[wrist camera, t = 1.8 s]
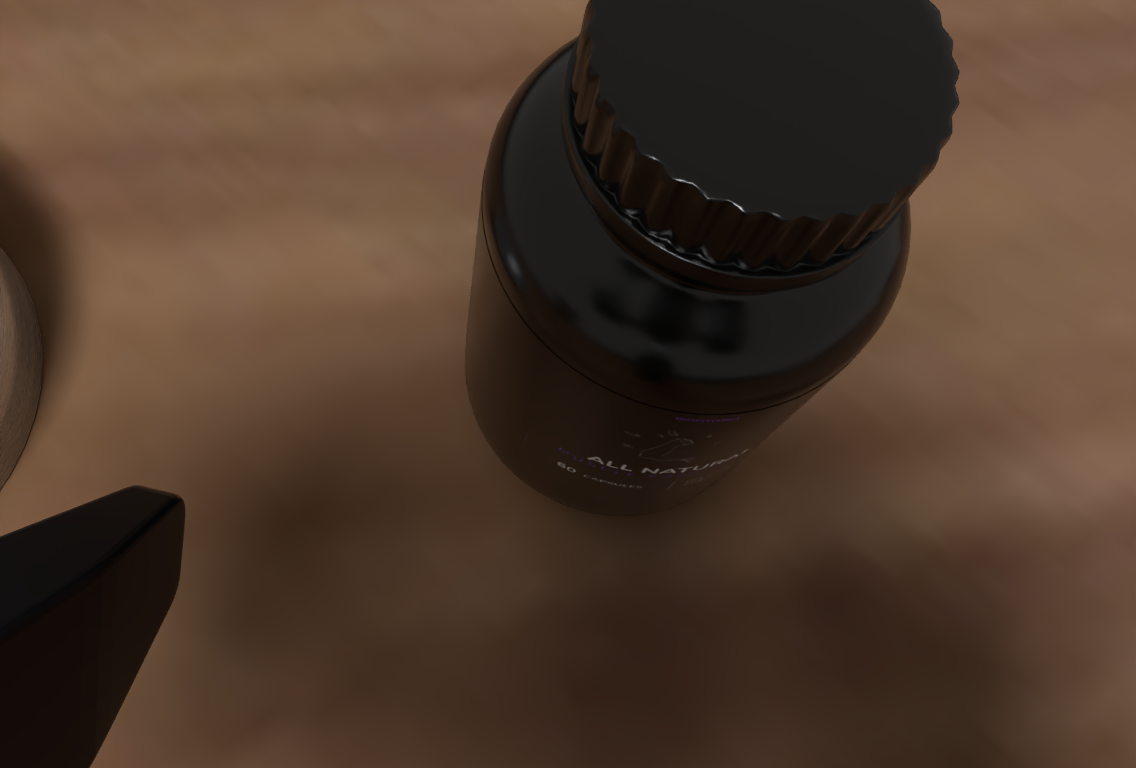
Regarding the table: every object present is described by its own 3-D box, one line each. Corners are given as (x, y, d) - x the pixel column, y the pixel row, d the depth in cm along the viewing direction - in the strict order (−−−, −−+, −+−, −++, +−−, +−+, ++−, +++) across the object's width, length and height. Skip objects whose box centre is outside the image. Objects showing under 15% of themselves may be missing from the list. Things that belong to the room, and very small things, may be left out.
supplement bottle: (598, 587, 22) (759, 428, 11) (403, 352, 23) (366, -12, 12) (817, 399, 24) (1146, 101, 13) (628, 192, 25) (776, -246, 14)
